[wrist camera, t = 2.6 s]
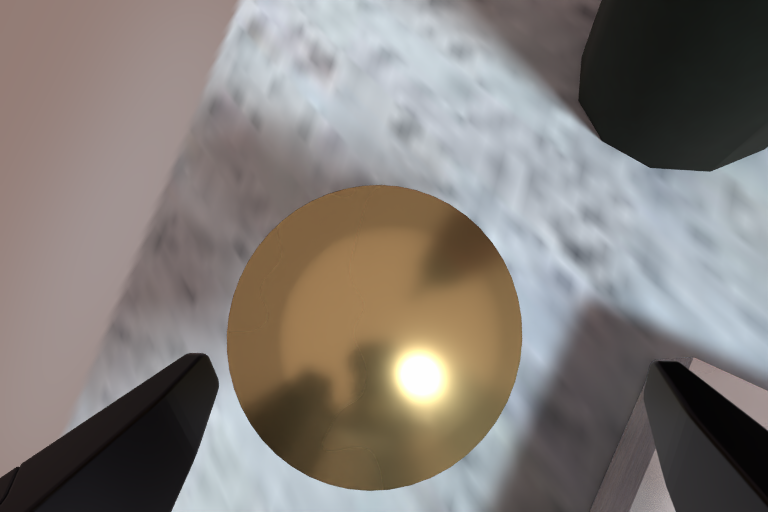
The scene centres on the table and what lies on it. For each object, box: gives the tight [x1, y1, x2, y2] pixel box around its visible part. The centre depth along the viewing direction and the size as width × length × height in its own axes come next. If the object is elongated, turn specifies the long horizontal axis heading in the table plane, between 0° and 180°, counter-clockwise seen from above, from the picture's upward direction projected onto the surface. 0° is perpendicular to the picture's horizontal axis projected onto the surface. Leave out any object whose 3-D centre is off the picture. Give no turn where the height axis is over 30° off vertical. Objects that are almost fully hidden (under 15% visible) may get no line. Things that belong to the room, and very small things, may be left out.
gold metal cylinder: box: [227, 185, 522, 491], centre depth 11 cm, size 4×4×12 cm
